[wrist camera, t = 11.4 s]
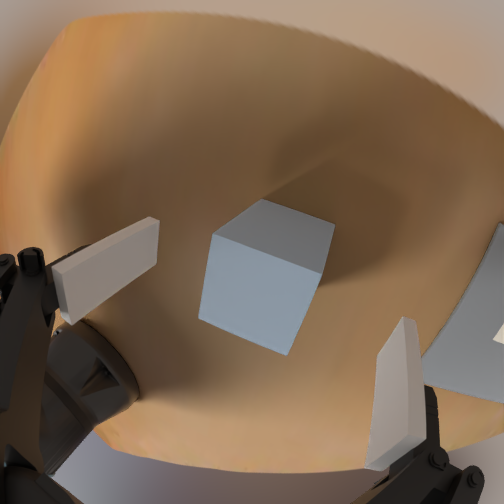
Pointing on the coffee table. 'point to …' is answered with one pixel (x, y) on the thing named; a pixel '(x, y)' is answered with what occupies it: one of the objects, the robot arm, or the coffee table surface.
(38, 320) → the robot arm
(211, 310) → the block
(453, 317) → the letter card
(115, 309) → the coffee table surface
